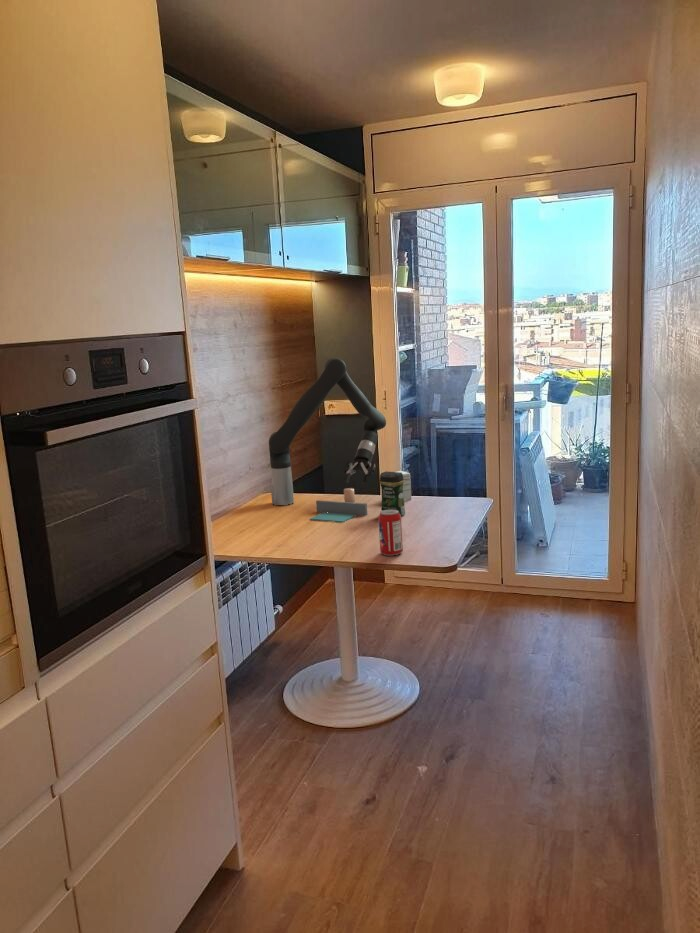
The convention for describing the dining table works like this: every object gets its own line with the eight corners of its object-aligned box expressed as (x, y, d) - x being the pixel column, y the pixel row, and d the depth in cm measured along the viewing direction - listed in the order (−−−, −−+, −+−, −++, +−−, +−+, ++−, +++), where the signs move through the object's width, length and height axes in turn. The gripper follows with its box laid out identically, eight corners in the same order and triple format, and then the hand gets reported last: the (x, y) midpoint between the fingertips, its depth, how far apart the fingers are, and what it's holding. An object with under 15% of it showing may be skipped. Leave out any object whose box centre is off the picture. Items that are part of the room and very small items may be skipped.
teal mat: (309, 520, 306) (309, 518, 306) (323, 513, 315) (323, 512, 315) (343, 522, 298) (343, 521, 298) (356, 515, 308) (356, 514, 307)
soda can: (399, 557, 248) (396, 514, 246) (377, 556, 251) (374, 514, 249) (405, 550, 256) (403, 509, 253) (384, 549, 258) (382, 508, 256)
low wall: (316, 512, 318) (316, 501, 317) (318, 511, 320) (317, 500, 319) (365, 515, 307) (365, 504, 306) (367, 514, 308) (366, 503, 307)
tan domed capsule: (343, 510, 318) (342, 490, 317) (347, 508, 322) (345, 488, 321) (353, 510, 317) (352, 490, 315) (356, 508, 321) (355, 488, 319)
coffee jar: (378, 516, 304) (375, 473, 300) (388, 512, 310) (386, 469, 307) (398, 519, 298) (396, 474, 295) (408, 514, 304) (406, 470, 301)
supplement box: (389, 500, 332) (387, 472, 330) (403, 497, 335) (401, 470, 333) (398, 503, 326) (396, 475, 323) (412, 500, 329) (410, 472, 327)
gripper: (348, 447, 331) (337, 477, 323) (376, 447, 324) (366, 478, 316) (354, 456, 337) (344, 486, 329) (382, 457, 330) (372, 487, 322)
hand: (355, 482), depth 323 cm, fingers open, 8 cm apart
